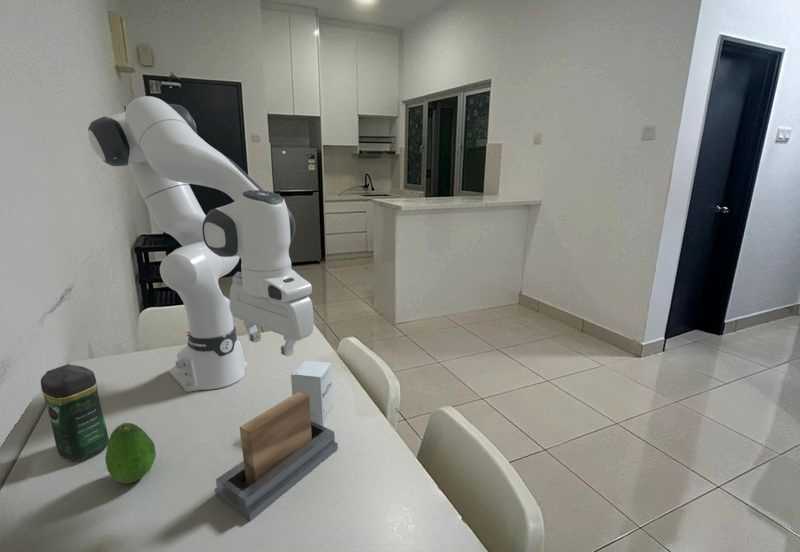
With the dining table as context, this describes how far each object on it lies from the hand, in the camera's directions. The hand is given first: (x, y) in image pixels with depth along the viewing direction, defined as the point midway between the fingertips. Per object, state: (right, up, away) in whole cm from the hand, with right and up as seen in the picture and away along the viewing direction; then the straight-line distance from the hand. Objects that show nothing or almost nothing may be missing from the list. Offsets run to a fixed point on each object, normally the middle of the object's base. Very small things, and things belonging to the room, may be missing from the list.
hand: (270, 347), depth 81 cm
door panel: (+2, -23, +1) cm, 23 cm away
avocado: (-26, -25, -1) cm, 36 cm away
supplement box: (+5, -20, +19) cm, 28 cm away
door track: (+2, -25, +1) cm, 25 cm away
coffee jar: (-42, -23, +7) cm, 48 cm away
